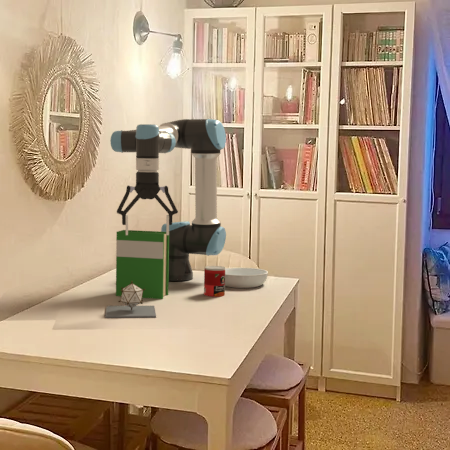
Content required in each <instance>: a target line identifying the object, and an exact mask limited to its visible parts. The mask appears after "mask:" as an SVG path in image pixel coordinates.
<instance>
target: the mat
mask: <svg viewBox="0 0 450 450" xmlns="http://www.w3.org/2000/svg"><path fill="white" fill-rule="evenodd" d="M104 317H105V318H104V319H136V318H137V319H138V318H139V319H140V318H141V319H145V318H146V319H153V318H154V319H155V318H157V314H156V307H155V305H136V306H134V307H133V308H132V310H131V307H129V306H127V305H106V309H105V315H104Z"/></svg>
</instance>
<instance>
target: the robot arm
mask: <svg viewBox="0 0 450 450" xmlns="http://www.w3.org/2000/svg"><path fill="white" fill-rule="evenodd" d="M225 130H226V129H225V127H224V125H223V123H222V122H221V121H220V120H218V119H212V118H203V119H202V118H198V119H197V118H196V119H194V118H193V119H192V118H191V119H187V118H183V119H182V118H181V119H177V120H174V121H169V122H168V121H167V122H164V123H161V124H160V125H159V126H158V125H157V124H144V123H143V124H142V123H141V124H137V126H136V129H132V130H115V131H112V134H111V136H110V146H111V149H112V150H113V152H117V153H135V156H136V157H135V169H136V173H135V186H133V185H127V186H126V192H125V193H124V196H122V197H123V198H122V199H121V201H120V204H119V205H118V207H117V210H116V213H117V214H118V215H121V223H122V225H123V226H125V230H126V235H128V230H129V214H128V213H129V211H130V210H131V209H132V208H133V207H134V205H135V204H136V203H137V202H139V200H140V199H141V200H154V199H155V200H156V201H157V202H158V204H159V205H160V206H161V207H162V208H163V210H164V211H166V213H167V214H166V219H165V220H166V223H164V224H162V225H161V229H160V232H166V235H169V279H168V282H170V281H171V282H172V281H173V282H175V281H176V282H177V281H178V282H179V281H181V282H182V281H189V280H192V279H193V278H194V272H193V269H192V265H191V261H190V255H199V256H200V255H201V256H202V255H203V256H218V255H219V254H220V253H221V252H222V251H223V249H224V246H225V244H226V238H227V233H226V228H225V227H223V226H222V223H221V220H219V219H218V206H217V205H218V201H217V200H218V194H217V193H218V187H217V186H218V183H217V182H218V181H217V180H218V179H217V177H218V174H217V173H218V172H217V171H218V168H217V167H218V166H217V163H218V157H220V155H221V150H224V149H225V147H226V143H227V135H226V131H225ZM175 148H177V149H185V150H186V149H187V150H189V149H190V151H191V152H190V153H191V154H190V155H192V156H193V158H194V168H195V169H194V171H195V172H194V177H195V178H194V179H195V180H194V183H195V185H194V186H195V187H194V192H195V193H194V194H195V195H194V196H195V197H194V198H195V205H194V206H195V215H194V216H195V218H194V219H192V221H191V222H190V221H187V220H185V221H177V222H176V221H175V222H173V216H174V215H175V214H176V215H177V214H178V213H179V211H178V209H177V206H176V205H175V203H174V200H173V199H172V197H171V194H170V192H169V186H167V185H164V186H160V182H159V181H160V180H159V179H160V174H159V169H160V167H159V165H160V163H159V162H160V158H159V157H160V156H159V155H160V154H168V153H171V152H172V151H173V150H174V149H175ZM133 191H135V192H136V194H137V195H136V196H135V197H134V198H133V199H132V200H131V202H130V203H129V204H128V205H127V206H126V207H125V209H123V207H124V206H125V204H126V202H127V200H128V198H129V195H130V194H132V193H133ZM160 191H161V192H162V193H164V195H165V196H166V199H167V201H168V202H169V204H170V207H171V208H172V210H171V209H170V208H169V207H168V206H167V205H166V203H165V202H164V201H163V200H162V198H161V197H160V196H159V192H160ZM122 209H123V210H122Z"/></svg>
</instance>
